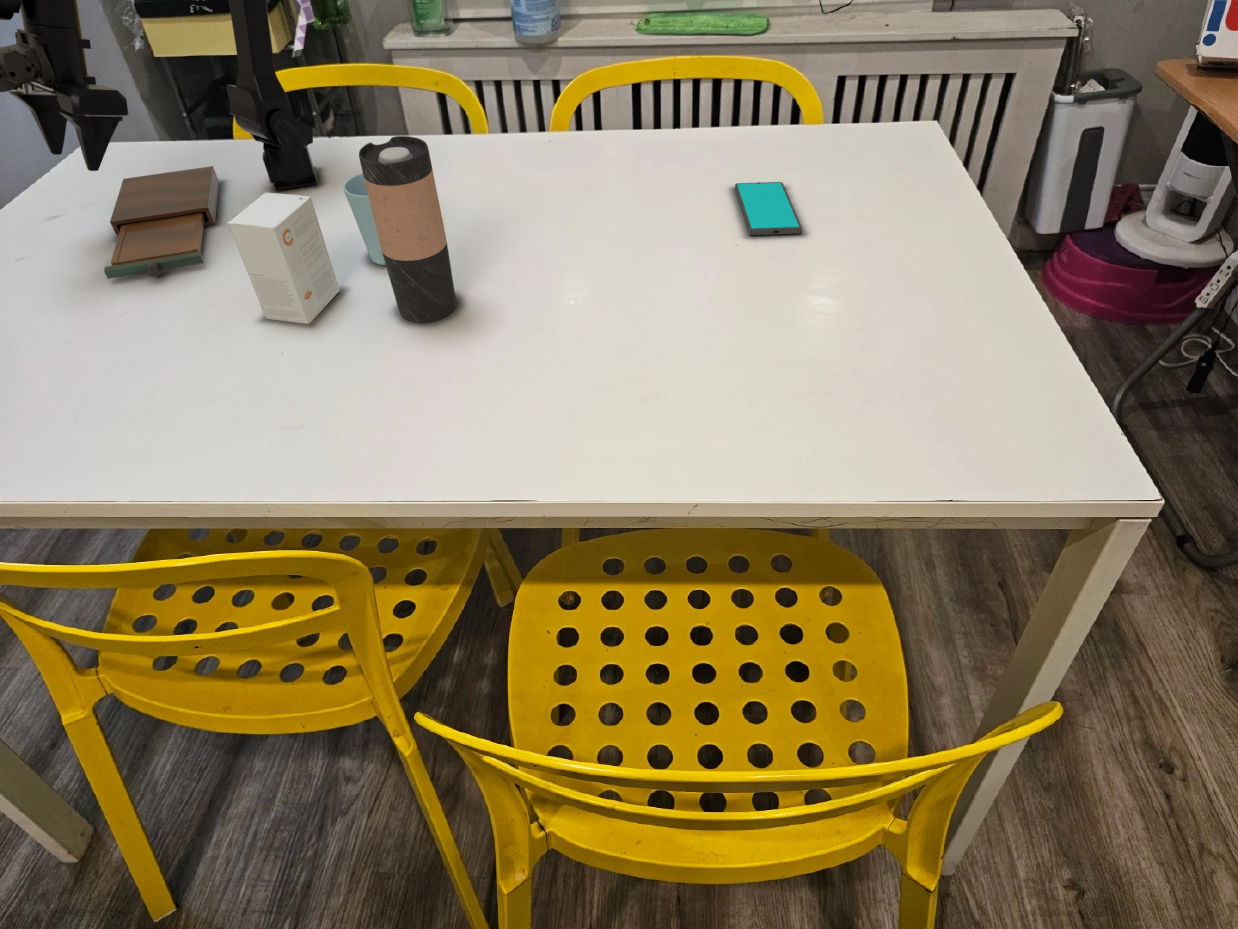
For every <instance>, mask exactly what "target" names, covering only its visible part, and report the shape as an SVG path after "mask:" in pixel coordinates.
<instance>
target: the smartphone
mask: <svg viewBox="0 0 1238 929" xmlns="http://www.w3.org/2000/svg"><path fill="white" fill-rule="evenodd" d="M734 192H735V194H736V198H737V201H738V204H739V207H740V210H741V213H742V215H743V219H744V222H745V225H746V228H747V231H748V235H749V236H767V235H768V236H769V235H795V234H801V233H802V229H803V228H802V225H801V223H800V220H799V218H798V216H797V213H796V210H795V209H794V206H793V204H792V202H791V200H790V196H789V195H788V193H787V190H786V188H785V185H784V183H783V181H771V182H770V181H766V182H736V183H734Z"/></svg>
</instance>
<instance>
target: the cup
mask: <svg viewBox="0 0 1238 929" xmlns="http://www.w3.org/2000/svg"><path fill="white" fill-rule="evenodd" d="M342 189H343V191H344V192H343V193H344V195H345V197H346V200H347V202H348V205H349V207H350V209H351V212H352V215H353V217H354V220H355V222H356V225H357V227H358V229H359V233H360V235H361V237H362V240H363V242H364V246H365V248H366V250H367V253H368V255H369V258H370V259H371V261H372V262H373V263H375V264H377V265H381V266H386V264H385V261H384V257H383V254H382V250H381V246H380V242H379V238H378V234H377V230H376V225H375V221H374V217H373V213H372V209H371V205H370V201H369V196H368V192H367V188H366V184H365V180H364V176H363V172H361V173H358V174H355V175H353V176H351V177H349V178H348V179H347V180H346V181H345V182H344V184H342Z"/></svg>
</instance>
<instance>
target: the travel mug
mask: <svg viewBox="0 0 1238 929" xmlns="http://www.w3.org/2000/svg"><path fill="white" fill-rule="evenodd" d="M358 158H359V162H360V167H361V173H363V176H364V180H365V184H366V188H367V192H368V196H369V201H370V205H371V209H372V213H373V217H374V221H375V225H376V230H377V234H378V238H379V242H380V246H381V250H382V254H383V257H384V261H385V264H386V265H385V267H386V270H387V271H386V272H387V274H388V278H389V281H390V285H391V289H392V292H393V295H394V298H395V299H394V300H395V302H396V305H397V309H398V311H399V314H400V316H401V317H402V318H404V319H405V320H407V321H408V322H412V323H416V324H417V323H418V324H421V323H422V324H423V323H424V324H425V323H433V322H437V321H441V320H443V319H445V318H446V317H448V316H450V315H451V314H452V313H453V312H454V311H455V309H456V307H457V300H456V292H455V285H454V279H453V278H454V277H453V273H452V267H451V266H452V265H451V259H450V254H449V247H448V241H447V235H446V230H445V225H444V221H443V220H444V219H443V214H442V210H441V205H440V200H439V195H438V190H437V185H436V179H435V175H434V170H433V165H432V159H431V154H430V150H429V145H428V143H427V142H426V141H425V140H423V139H421V138H418V137H415V136H407V135H396V136H392V137H391V138H390V139H389V140H388V141H386V142H383V143H381V144H375V143H372V142H368V143H366V144H364V145H363V146H362V147H361V148H360V149H359V150H358Z"/></svg>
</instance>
